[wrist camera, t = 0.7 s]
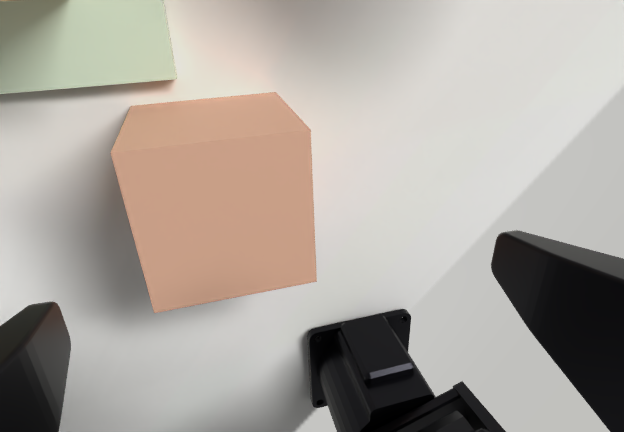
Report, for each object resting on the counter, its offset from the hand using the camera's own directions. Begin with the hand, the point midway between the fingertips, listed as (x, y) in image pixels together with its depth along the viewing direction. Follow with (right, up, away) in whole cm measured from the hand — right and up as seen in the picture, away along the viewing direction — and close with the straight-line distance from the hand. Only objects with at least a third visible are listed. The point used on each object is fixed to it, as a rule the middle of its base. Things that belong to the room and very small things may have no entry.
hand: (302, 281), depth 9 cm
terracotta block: (-4, +4, +11) cm, 12 cm away
